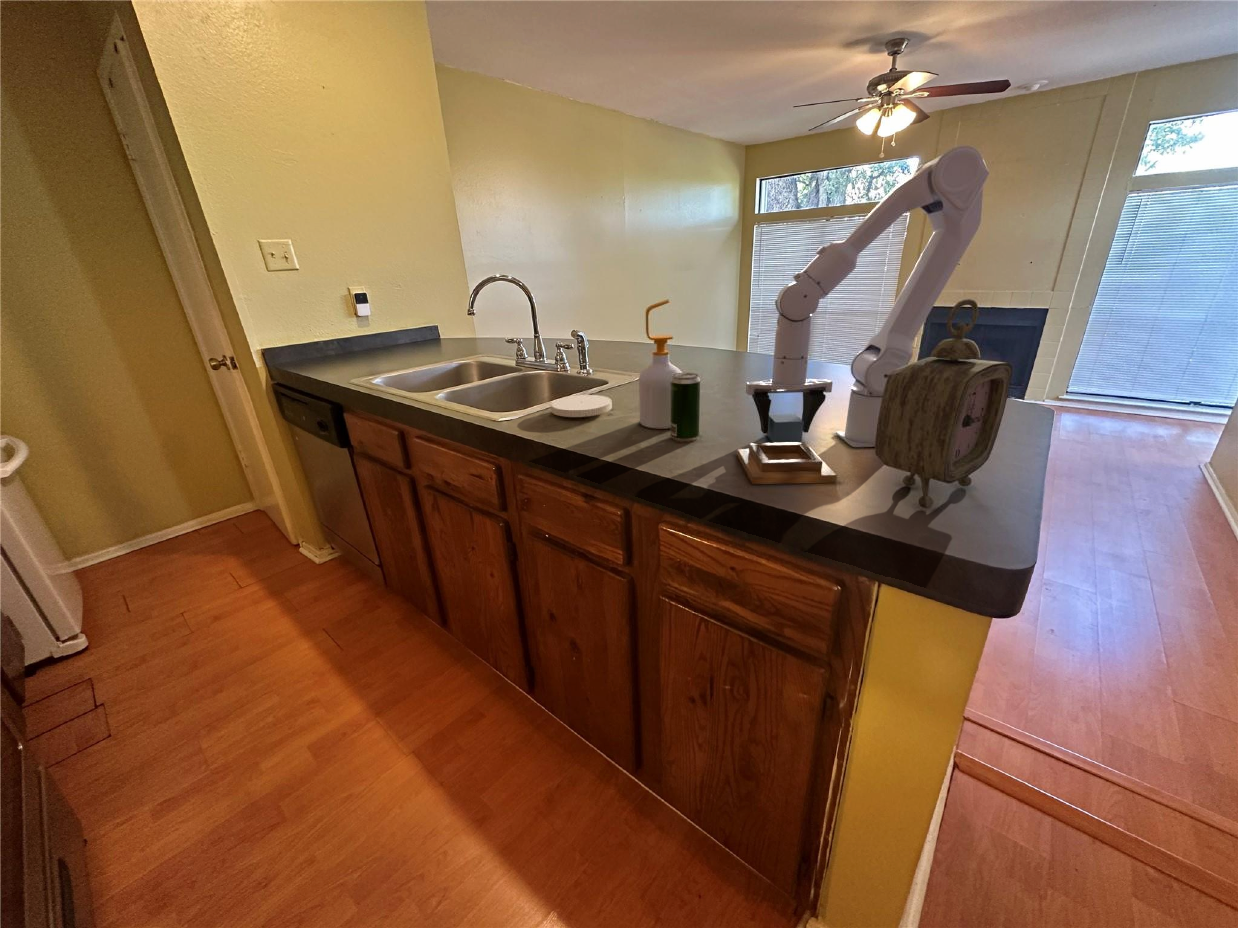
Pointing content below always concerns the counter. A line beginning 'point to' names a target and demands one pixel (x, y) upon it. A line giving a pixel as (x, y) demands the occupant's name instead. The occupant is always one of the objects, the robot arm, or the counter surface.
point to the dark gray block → (785, 428)
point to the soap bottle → (656, 383)
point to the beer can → (685, 406)
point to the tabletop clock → (943, 411)
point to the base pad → (784, 464)
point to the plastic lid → (581, 405)
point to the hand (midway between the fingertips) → (784, 431)
